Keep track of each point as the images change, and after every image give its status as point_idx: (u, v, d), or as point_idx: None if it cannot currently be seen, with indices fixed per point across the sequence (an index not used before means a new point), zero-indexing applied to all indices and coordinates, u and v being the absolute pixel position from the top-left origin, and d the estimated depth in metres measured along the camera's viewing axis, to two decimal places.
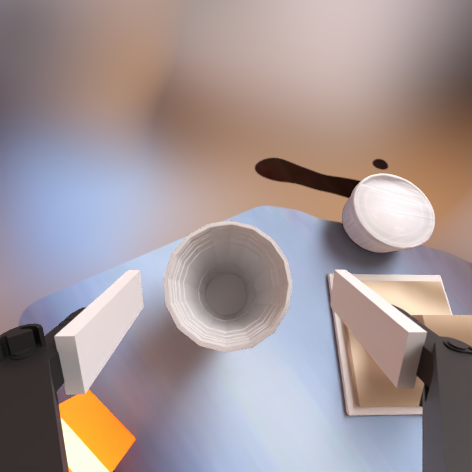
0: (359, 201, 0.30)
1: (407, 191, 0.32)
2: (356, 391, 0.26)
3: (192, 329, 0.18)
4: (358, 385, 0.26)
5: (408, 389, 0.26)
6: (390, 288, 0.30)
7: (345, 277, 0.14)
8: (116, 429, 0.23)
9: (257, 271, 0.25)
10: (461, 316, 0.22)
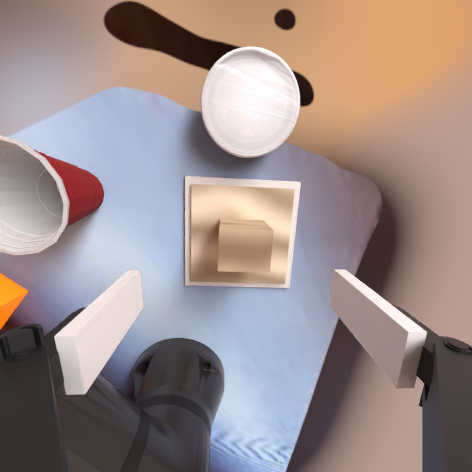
0: (209, 92, 0.25)
1: (278, 78, 0.25)
2: (191, 271, 0.34)
3: None
4: (192, 268, 0.33)
5: (232, 272, 0.34)
6: (240, 193, 0.31)
7: (345, 277, 0.14)
8: (6, 286, 0.33)
9: None
10: (255, 230, 0.25)
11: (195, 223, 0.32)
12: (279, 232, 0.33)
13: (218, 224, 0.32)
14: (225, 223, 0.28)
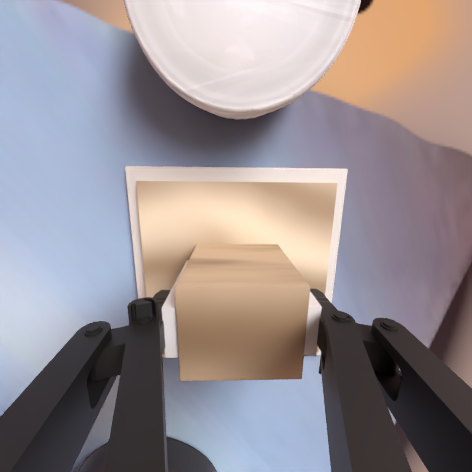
0: None
1: None
2: None
3: None
4: None
5: None
6: (233, 196, 0.16)
7: None
8: None
9: None
10: (265, 289, 0.10)
11: (150, 254, 0.17)
12: (308, 265, 0.17)
13: None
14: (199, 262, 0.13)
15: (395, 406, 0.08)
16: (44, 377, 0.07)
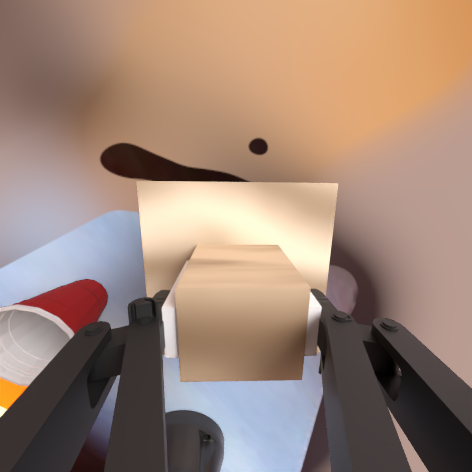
0: None
1: None
2: None
3: (13, 374, 0.26)
4: None
5: None
6: (233, 196, 0.16)
7: None
8: None
9: None
10: (265, 290, 0.10)
11: (150, 255, 0.17)
12: (308, 265, 0.17)
13: None
14: (200, 262, 0.13)
15: (394, 406, 0.08)
16: (44, 377, 0.07)
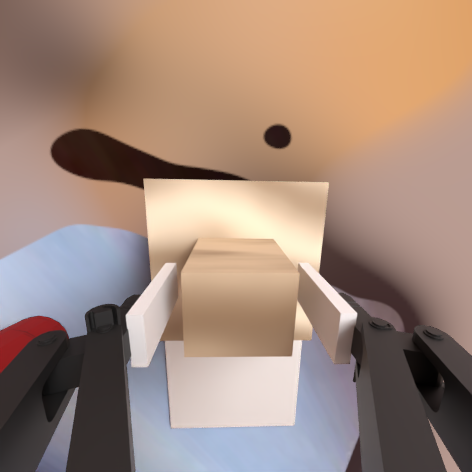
0: None
1: None
2: None
3: None
4: None
5: None
6: (232, 194, 0.17)
7: (305, 269, 0.15)
8: None
9: None
10: (260, 275, 0.12)
11: (155, 247, 0.18)
12: (301, 258, 0.19)
13: None
14: (202, 253, 0.14)
15: (435, 418, 0.08)
16: None
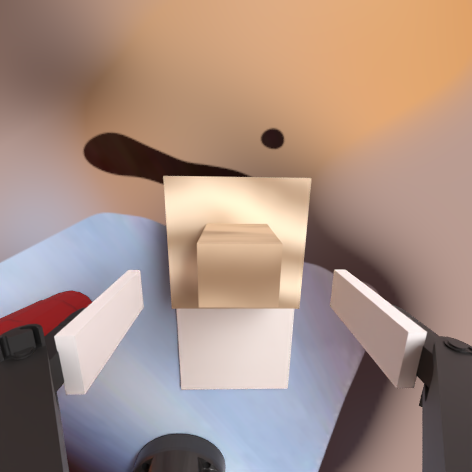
0: None
1: None
2: (171, 295, 0.25)
3: None
4: (172, 291, 0.24)
5: None
6: (234, 187, 0.22)
7: (345, 277, 0.14)
8: None
9: None
10: (254, 245, 0.16)
11: (172, 231, 0.23)
12: (290, 240, 0.23)
13: None
14: (210, 232, 0.19)
15: None
16: None
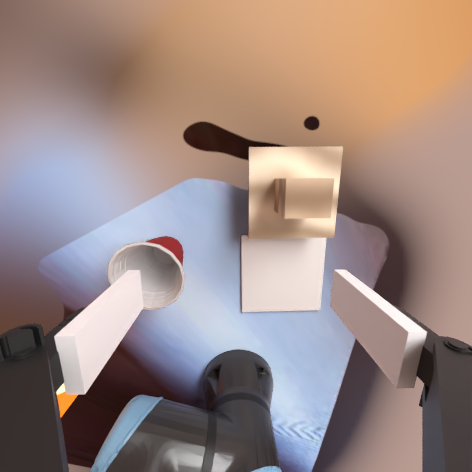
0: None
1: None
2: None
3: None
4: (250, 226, 0.37)
5: (286, 228, 0.37)
6: (293, 154, 0.34)
7: (345, 277, 0.14)
8: None
9: None
10: (318, 179, 0.28)
11: (252, 184, 0.35)
12: None
13: (273, 184, 0.35)
14: (285, 178, 0.31)
15: None
16: None
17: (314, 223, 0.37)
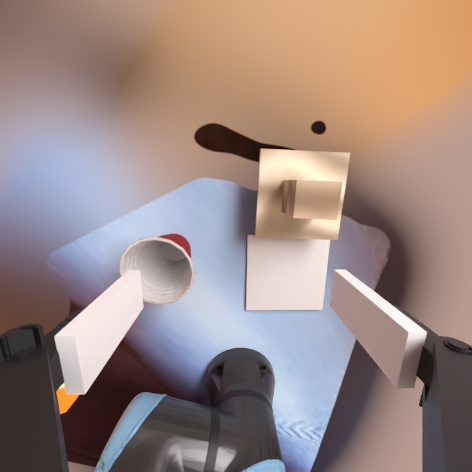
0: None
1: None
2: (255, 228, 0.38)
3: None
4: (257, 225, 0.38)
5: (291, 229, 0.38)
6: (303, 157, 0.35)
7: (345, 277, 0.14)
8: None
9: (186, 248, 0.38)
10: (327, 182, 0.30)
11: (262, 184, 0.36)
12: None
13: (282, 185, 0.36)
14: None
15: None
16: None
17: (319, 225, 0.38)
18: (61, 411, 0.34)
